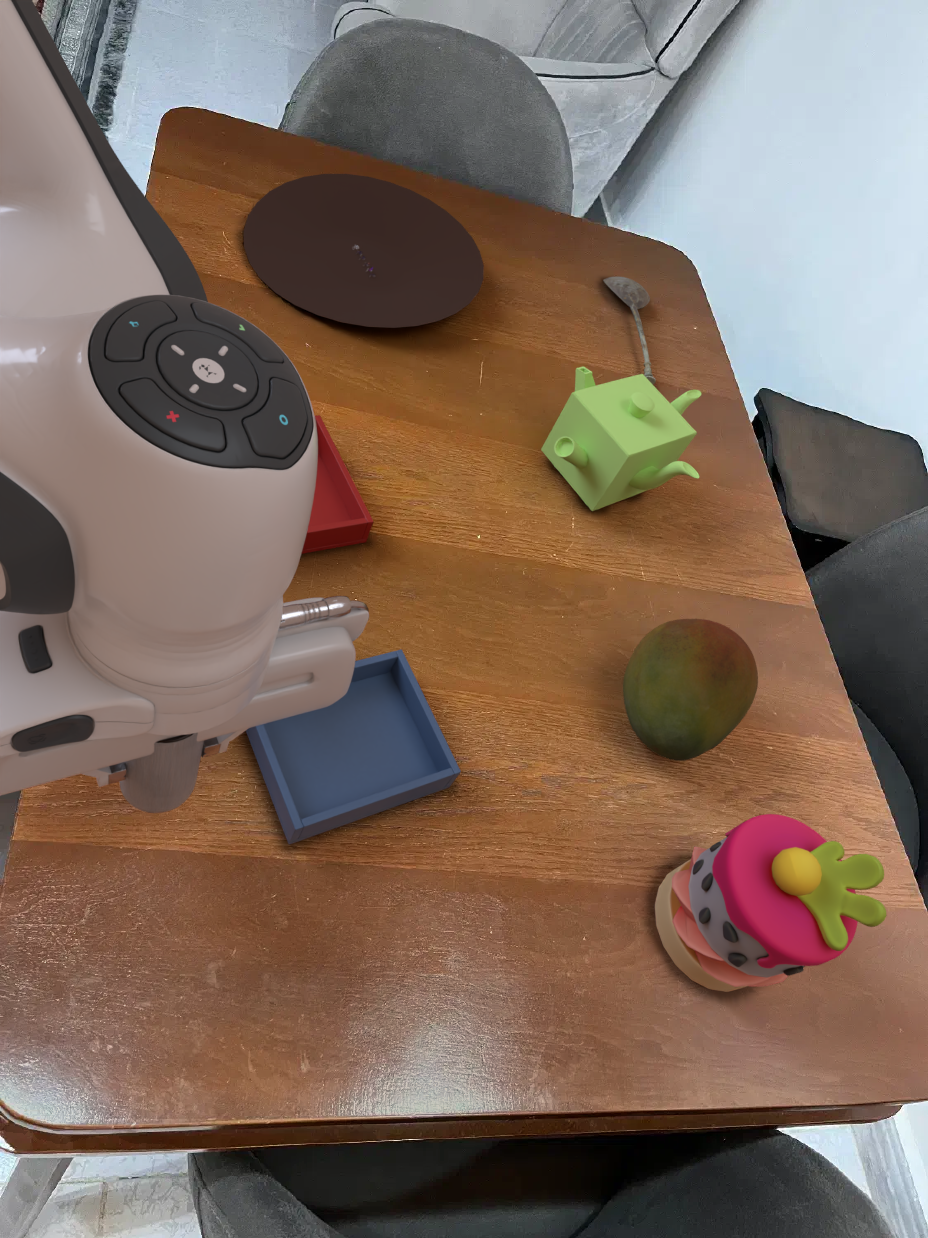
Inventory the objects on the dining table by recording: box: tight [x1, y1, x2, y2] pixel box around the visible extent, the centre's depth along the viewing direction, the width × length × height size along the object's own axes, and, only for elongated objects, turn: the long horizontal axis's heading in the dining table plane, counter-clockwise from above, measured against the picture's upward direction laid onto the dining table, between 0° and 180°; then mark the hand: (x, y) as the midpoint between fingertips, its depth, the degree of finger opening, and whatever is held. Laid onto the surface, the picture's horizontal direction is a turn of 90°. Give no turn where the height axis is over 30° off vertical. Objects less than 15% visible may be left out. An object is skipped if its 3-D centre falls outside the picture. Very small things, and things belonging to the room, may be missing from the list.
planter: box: [118, 733, 204, 814], centre depth 48 cm, size 4×4×10 cm
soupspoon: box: [603, 276, 657, 386], centre depth 110 cm, size 22×3×7 cm
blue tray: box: [245, 649, 462, 845], centre depth 63 cm, size 13×11×3 cm
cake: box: [654, 813, 888, 993], centre depth 60 cm, size 10×11×15 cm
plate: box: [243, 173, 485, 329], centre depth 99 cm, size 28×28×4 cm
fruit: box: [622, 618, 759, 762], centre depth 72 cm, size 12×13×10 cm
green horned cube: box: [540, 366, 702, 512], centre depth 87 cm, size 15×14×11 cm
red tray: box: [301, 414, 374, 555], centre depth 74 cm, size 15×13×3 cm
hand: (159, 758), depth 49 cm, fingers closed on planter, 4 cm apart
